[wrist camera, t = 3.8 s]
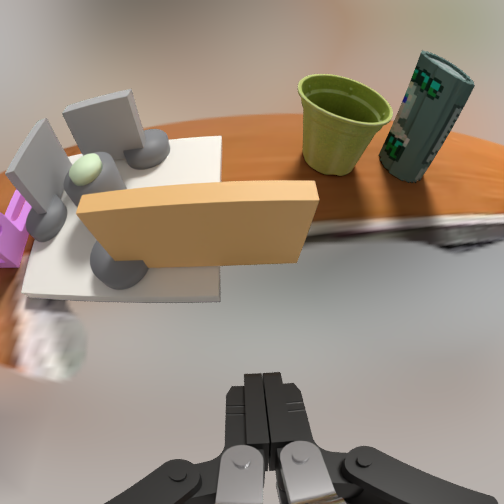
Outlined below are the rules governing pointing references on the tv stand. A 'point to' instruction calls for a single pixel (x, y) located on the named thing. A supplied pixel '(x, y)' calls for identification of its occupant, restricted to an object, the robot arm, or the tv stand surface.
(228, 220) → the tan upright panel
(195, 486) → the robot arm
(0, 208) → the tv stand surface
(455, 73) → the can
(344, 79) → the plant pot
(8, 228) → the bracket
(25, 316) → the tv stand surface
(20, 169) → the plate
